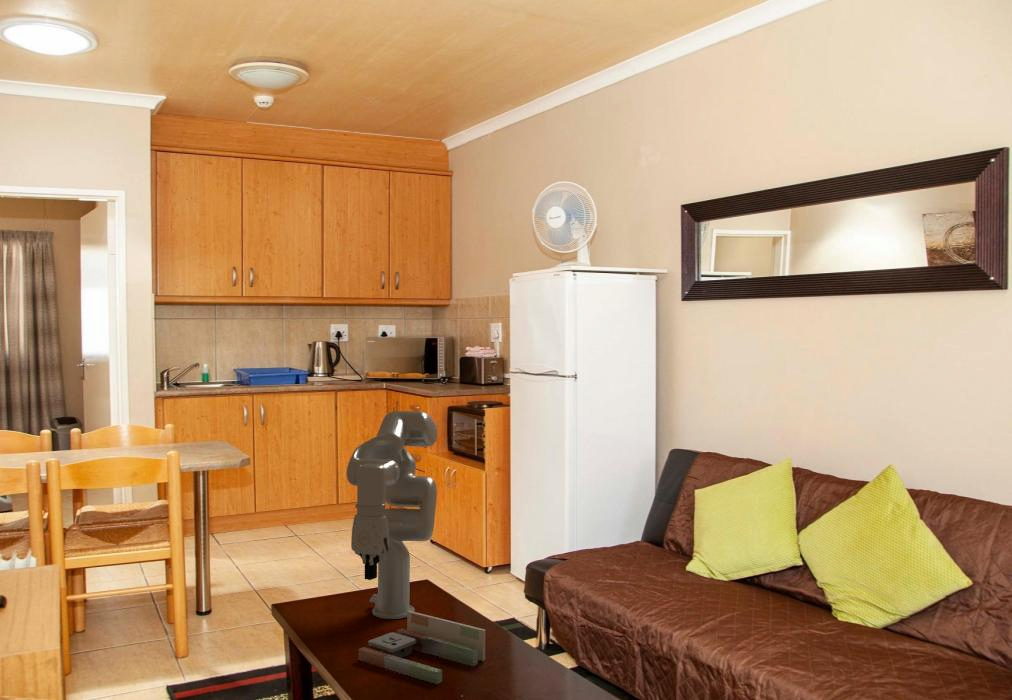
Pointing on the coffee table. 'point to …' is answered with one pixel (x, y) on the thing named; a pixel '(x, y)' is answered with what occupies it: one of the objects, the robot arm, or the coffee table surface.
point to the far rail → (442, 648)
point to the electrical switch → (393, 644)
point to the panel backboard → (448, 631)
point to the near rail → (400, 665)
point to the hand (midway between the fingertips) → (370, 578)
